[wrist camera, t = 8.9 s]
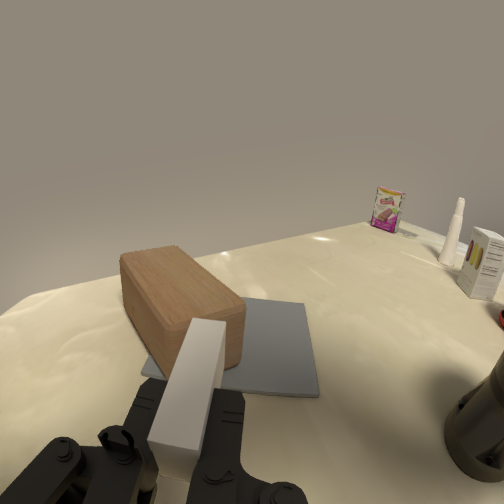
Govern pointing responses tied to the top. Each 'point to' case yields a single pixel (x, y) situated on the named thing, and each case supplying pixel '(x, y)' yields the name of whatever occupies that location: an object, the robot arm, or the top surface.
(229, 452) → the robot arm
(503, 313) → the plant pot
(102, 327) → the top surface
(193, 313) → the wooden block
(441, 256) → the cosmetic bottle
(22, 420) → the top surface
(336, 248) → the top surface
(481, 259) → the supplement box
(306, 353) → the mat
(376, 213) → the candy bar box
